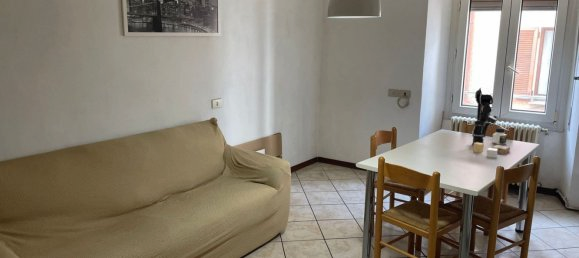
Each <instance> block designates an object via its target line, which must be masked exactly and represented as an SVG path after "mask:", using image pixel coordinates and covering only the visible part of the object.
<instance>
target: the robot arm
mask: <svg viewBox="0 0 579 258" xmlns="http://www.w3.org/2000/svg"><path fill="white" fill-rule="evenodd" d="M474 98H475V101H476V104H477V111H476V120H475V121H474V126H473V128H472V133H471V137H473V138H472V143H471V145H473V146H474V143H476V142H478V143H484V138H486V134H487V131H488V129H489V126H490V125H492V124H496V123H497V121H498V116H497V115H494V116H492V115H491V112H492V111H493V110H492V107H491V105H493V103H494V97H493V95H492V94H491V93H489V91H488V88H487V87H479V89H478V90H476V92H475V93H474Z"/></svg>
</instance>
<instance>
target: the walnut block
mask: <svg viewBox="0 0 579 258" xmlns="http://www.w3.org/2000/svg"><path fill="white" fill-rule="evenodd" d="M491 148H494V149H498V151H497V154H500V155H507V154H509V153H510V151H511V146H506V145H502V144H500V145H499V144H495V145H494V146H492V147H491Z"/></svg>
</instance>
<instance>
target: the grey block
mask: <svg viewBox="0 0 579 258" xmlns="http://www.w3.org/2000/svg"><path fill="white" fill-rule="evenodd" d="M497 151H498V149H494V148H492V147H488V148H487V150H486V157H487V158H495V159H496V158H497V157H498V153H497Z"/></svg>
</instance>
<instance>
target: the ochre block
mask: <svg viewBox="0 0 579 258" xmlns="http://www.w3.org/2000/svg"><path fill="white" fill-rule="evenodd" d="M484 145H485V144H484V142H483V143H478V142H476V143H474V145H473V148H472V151H474V152H475V153H483V152H484ZM474 152H473V153H474Z"/></svg>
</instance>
